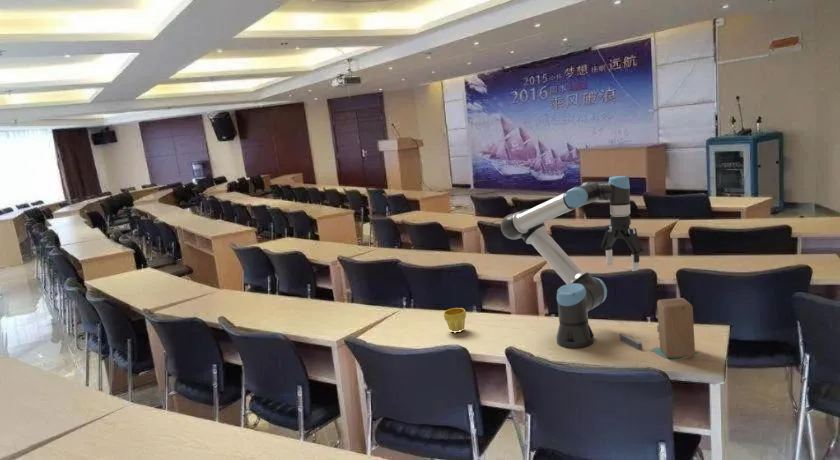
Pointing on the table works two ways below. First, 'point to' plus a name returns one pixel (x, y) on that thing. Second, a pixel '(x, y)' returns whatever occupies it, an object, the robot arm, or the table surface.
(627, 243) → the robot arm
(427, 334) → the table surface
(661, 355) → the mat
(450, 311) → the plant pot
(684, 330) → the wooden block
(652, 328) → the table surface
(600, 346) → the table surface
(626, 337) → the chute
